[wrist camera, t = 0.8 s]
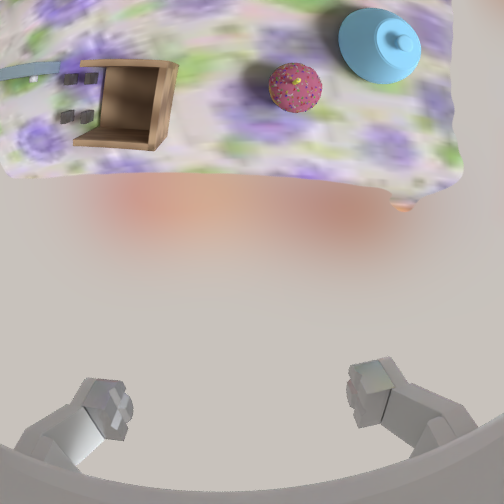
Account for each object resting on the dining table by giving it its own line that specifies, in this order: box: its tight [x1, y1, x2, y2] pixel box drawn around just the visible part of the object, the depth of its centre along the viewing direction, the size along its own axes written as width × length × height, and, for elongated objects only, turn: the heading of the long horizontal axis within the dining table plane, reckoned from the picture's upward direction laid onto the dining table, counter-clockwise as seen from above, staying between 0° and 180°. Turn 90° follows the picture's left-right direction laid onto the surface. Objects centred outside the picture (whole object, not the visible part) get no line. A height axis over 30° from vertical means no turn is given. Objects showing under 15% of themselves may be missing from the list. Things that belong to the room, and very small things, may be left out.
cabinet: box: [61, 59, 179, 151], centre depth 37 cm, size 13×20×11 cm, turn 78°
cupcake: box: [269, 63, 322, 113], centre depth 39 cm, size 9×8×12 cm
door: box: [0, 62, 60, 83], centre depth 32 cm, size 10×3×9 cm, turn 78°
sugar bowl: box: [338, 8, 421, 84], centre depth 36 cm, size 15×15×12 cm
